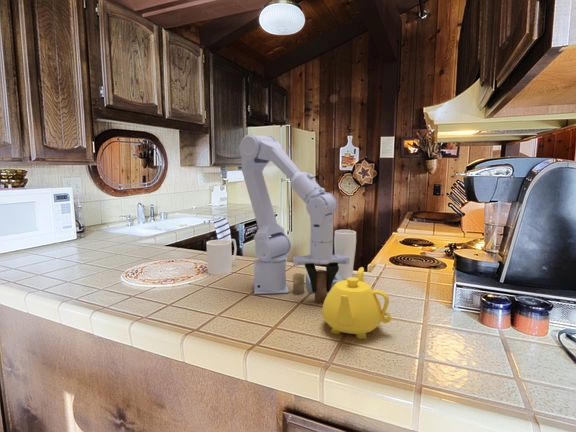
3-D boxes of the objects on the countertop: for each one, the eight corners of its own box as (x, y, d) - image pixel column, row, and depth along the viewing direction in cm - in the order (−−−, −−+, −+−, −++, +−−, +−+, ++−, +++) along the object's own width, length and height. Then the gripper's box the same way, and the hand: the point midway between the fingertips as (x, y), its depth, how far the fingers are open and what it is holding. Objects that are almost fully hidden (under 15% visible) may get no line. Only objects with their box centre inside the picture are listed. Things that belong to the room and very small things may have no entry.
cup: (244, 267, 120) (244, 239, 118) (218, 276, 110) (217, 246, 109) (228, 263, 125) (228, 236, 123) (202, 271, 115) (201, 242, 114)
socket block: (309, 292, 96) (309, 282, 96) (305, 283, 104) (305, 273, 104) (344, 291, 97) (344, 281, 97) (337, 282, 105) (338, 272, 105)
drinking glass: (354, 281, 105) (356, 234, 103) (332, 280, 107) (333, 233, 104) (355, 274, 112) (356, 229, 110) (334, 273, 113) (335, 229, 111)
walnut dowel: (315, 303, 89) (316, 274, 88) (313, 299, 92) (314, 270, 91) (327, 303, 89) (328, 273, 88) (325, 298, 92) (325, 269, 91)
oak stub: (293, 294, 95) (293, 277, 95) (292, 290, 98) (292, 273, 98) (305, 294, 96) (305, 276, 95) (303, 289, 99) (303, 273, 98)
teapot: (384, 360, 63) (387, 301, 62) (308, 344, 69) (309, 289, 67) (394, 316, 82) (397, 269, 80) (334, 306, 87) (335, 262, 86)
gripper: (295, 244, 83) (295, 297, 86) (353, 243, 85) (351, 295, 87) (292, 238, 90) (292, 287, 92) (346, 237, 92) (344, 285, 94)
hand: (320, 290), depth 90 cm, fingers closed on walnut dowel, 3 cm apart
